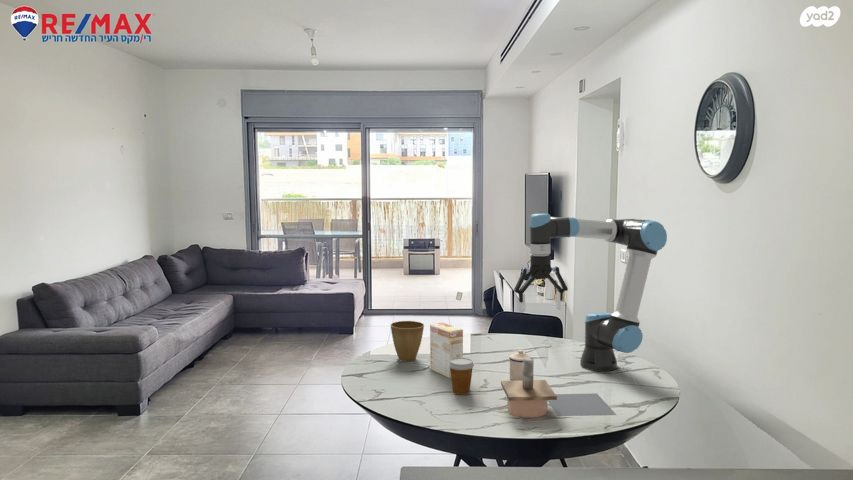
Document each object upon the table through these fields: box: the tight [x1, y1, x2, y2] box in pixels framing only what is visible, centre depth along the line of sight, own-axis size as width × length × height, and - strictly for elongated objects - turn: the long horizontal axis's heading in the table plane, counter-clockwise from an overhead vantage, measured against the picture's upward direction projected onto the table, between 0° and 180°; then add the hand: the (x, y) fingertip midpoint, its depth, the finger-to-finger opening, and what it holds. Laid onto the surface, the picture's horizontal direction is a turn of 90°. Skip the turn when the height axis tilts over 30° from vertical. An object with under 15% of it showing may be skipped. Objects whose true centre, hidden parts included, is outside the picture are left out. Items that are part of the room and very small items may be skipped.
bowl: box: [507, 399, 549, 418], centre depth 202 cm, size 13×13×7 cm
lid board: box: [500, 358, 557, 401], centre depth 201 cm, size 16×16×11 cm
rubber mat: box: [548, 392, 617, 417], centre depth 207 cm, size 20×20×1 cm
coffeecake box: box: [429, 322, 464, 379], centre depth 243 cm, size 15×7×20 cm, turn 32°
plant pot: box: [390, 320, 425, 363], centre depth 262 cm, size 15×15×16 cm
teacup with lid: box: [508, 349, 533, 381], centre depth 237 cm, size 12×9×12 cm
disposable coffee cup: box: [449, 357, 475, 395], centre depth 221 cm, size 10×10×12 cm
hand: (540, 309), depth 223 cm, fingers open, 13 cm apart
